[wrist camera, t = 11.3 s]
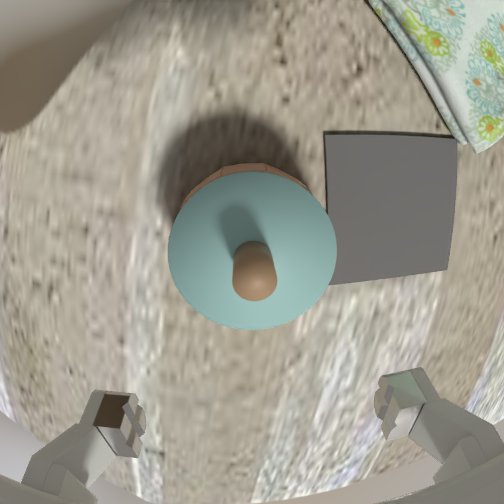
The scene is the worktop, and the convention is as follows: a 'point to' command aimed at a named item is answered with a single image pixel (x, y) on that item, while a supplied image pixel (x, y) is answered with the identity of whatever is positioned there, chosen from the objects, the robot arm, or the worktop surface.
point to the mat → (390, 204)
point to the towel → (455, 60)
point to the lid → (252, 250)
